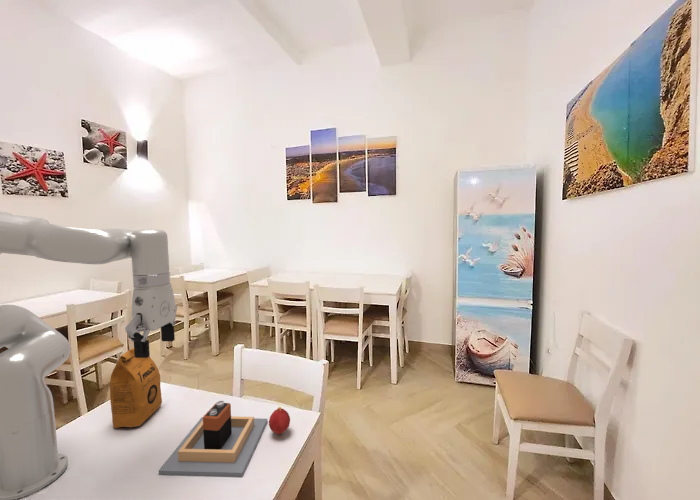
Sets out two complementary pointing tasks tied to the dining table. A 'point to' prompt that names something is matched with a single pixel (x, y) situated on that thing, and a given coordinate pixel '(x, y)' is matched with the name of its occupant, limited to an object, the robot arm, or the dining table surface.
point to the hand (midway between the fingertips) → (156, 348)
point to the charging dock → (216, 451)
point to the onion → (279, 421)
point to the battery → (217, 425)
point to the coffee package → (134, 390)
